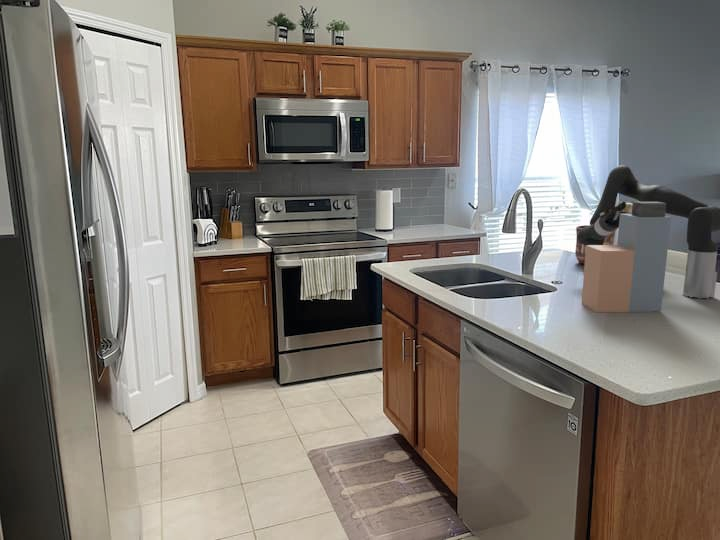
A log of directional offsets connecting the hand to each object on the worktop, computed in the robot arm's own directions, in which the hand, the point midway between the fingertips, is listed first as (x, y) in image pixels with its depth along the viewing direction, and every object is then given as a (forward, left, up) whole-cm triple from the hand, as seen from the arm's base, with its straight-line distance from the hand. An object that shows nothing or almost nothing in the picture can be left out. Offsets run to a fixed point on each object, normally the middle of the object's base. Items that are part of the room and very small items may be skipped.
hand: (629, 203), depth 194 cm
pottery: (-18, -65, -35) cm, 77 cm away
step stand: (+6, +11, -35) cm, 37 cm away
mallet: (0, +5, -3) cm, 6 cm away
